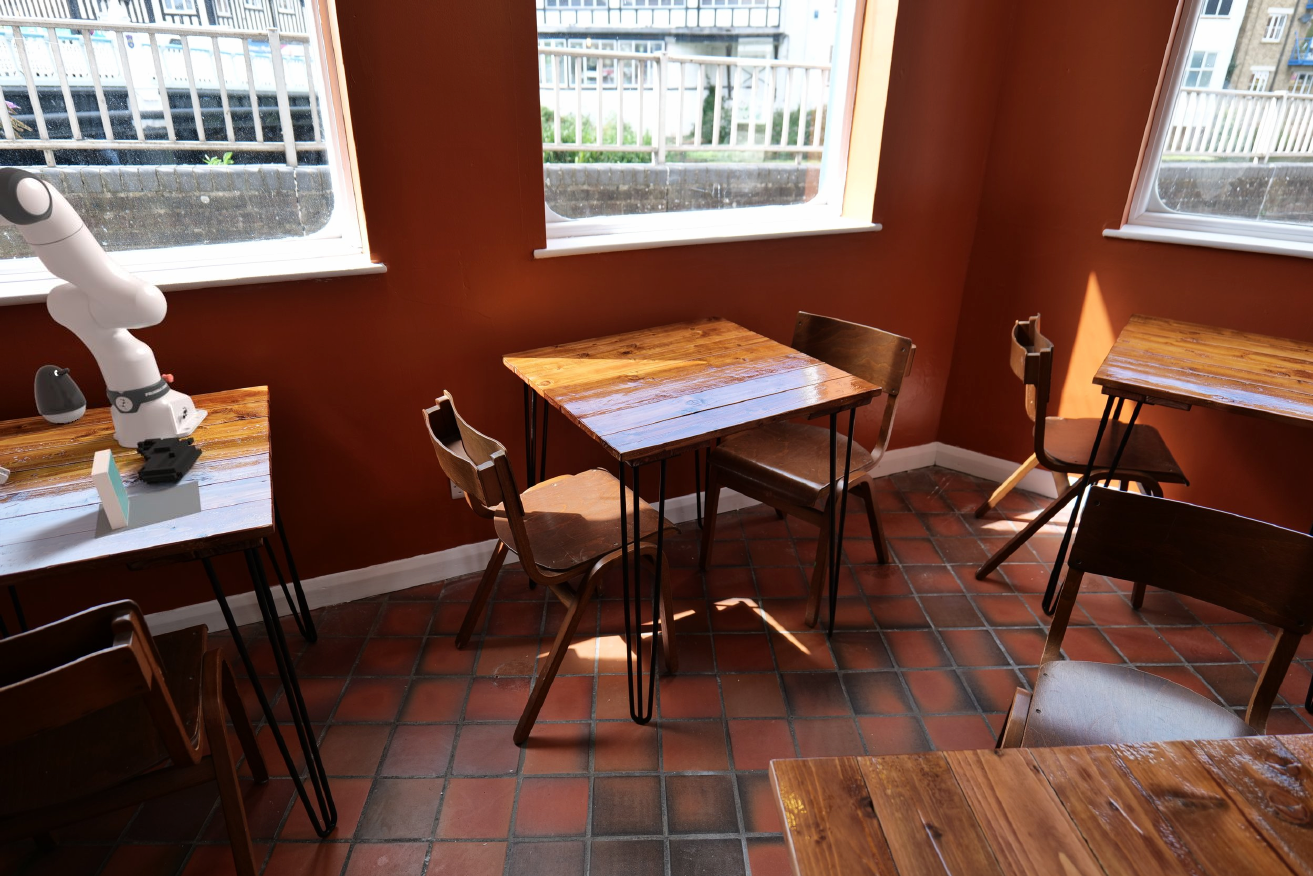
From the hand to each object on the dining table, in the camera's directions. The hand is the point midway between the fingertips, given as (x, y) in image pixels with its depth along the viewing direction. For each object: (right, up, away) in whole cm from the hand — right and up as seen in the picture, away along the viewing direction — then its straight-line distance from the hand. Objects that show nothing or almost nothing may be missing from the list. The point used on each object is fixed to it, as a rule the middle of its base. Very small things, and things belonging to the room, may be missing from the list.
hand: (7, 477), depth 140 cm
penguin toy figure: (-35, +12, +60) cm, 71 cm away
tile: (+13, -8, +12) cm, 19 cm away
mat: (+17, -7, +14) cm, 23 cm away
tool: (+9, 0, +31) cm, 32 cm away
